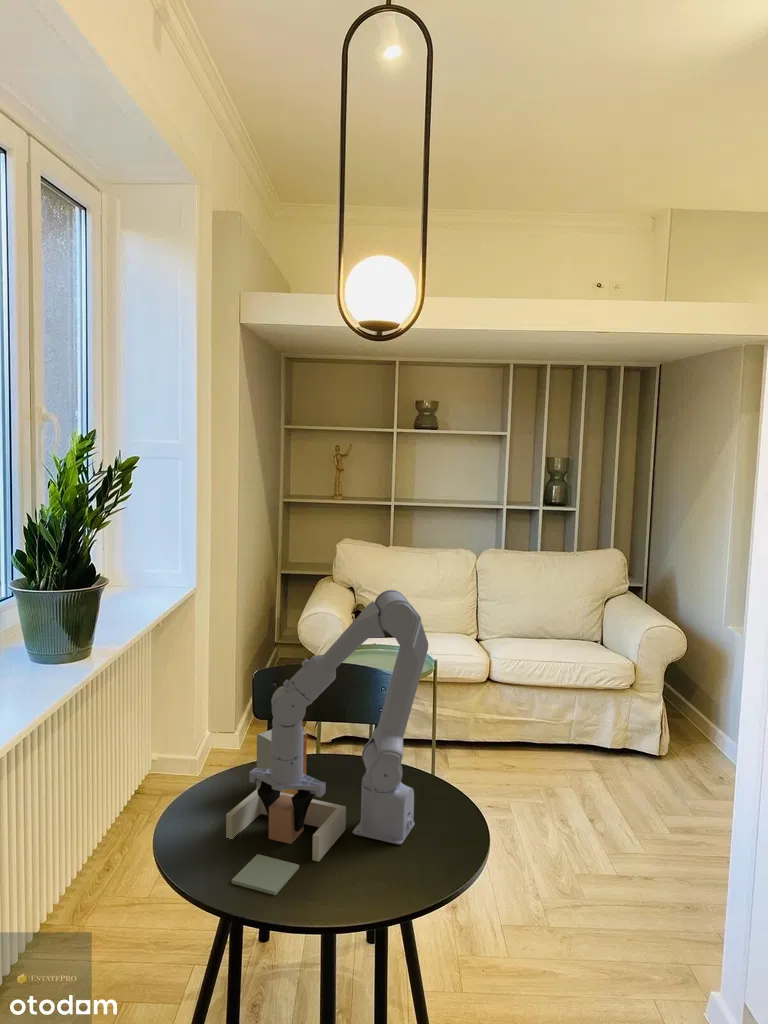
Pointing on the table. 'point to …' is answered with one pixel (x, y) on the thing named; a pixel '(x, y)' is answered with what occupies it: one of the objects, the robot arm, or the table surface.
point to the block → (282, 820)
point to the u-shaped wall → (317, 815)
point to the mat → (265, 874)
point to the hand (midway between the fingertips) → (286, 825)
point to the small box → (265, 755)
